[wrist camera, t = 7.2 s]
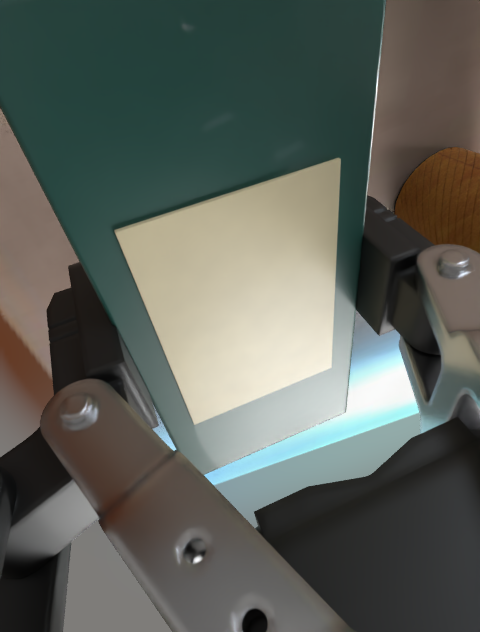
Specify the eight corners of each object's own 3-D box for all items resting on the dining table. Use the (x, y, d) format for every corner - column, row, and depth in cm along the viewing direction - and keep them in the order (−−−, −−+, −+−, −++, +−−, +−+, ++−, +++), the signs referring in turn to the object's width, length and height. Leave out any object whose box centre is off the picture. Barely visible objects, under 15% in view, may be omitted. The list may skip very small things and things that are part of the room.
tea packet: (-31, -21, 7) (-53, 9, 4) (285, -87, 7) (401, -89, 5) (166, 400, 15) (192, 482, 13) (301, 346, 16) (348, 414, 14)
